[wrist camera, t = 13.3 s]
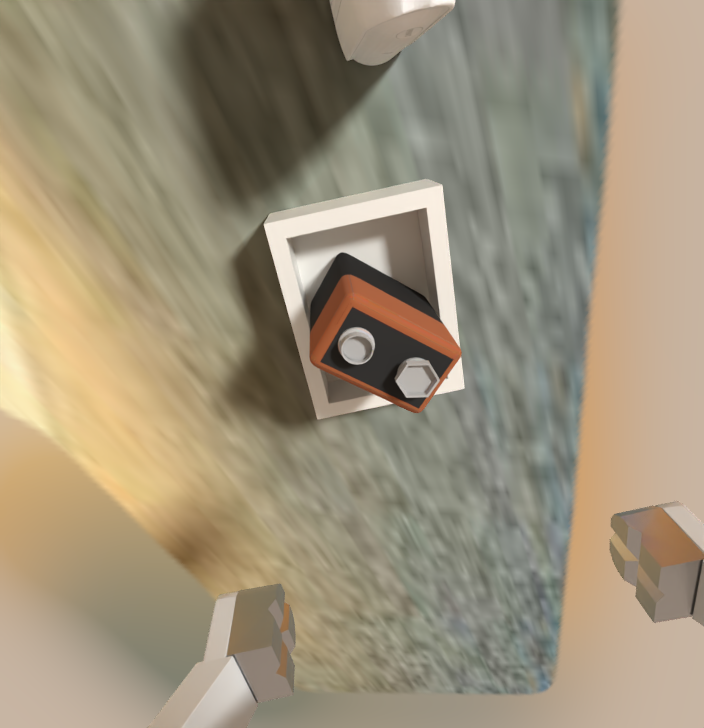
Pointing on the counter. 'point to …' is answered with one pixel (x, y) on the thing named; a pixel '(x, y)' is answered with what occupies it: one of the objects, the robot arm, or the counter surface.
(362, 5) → the photo printer
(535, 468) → the counter surface
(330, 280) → the battery
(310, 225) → the trough
